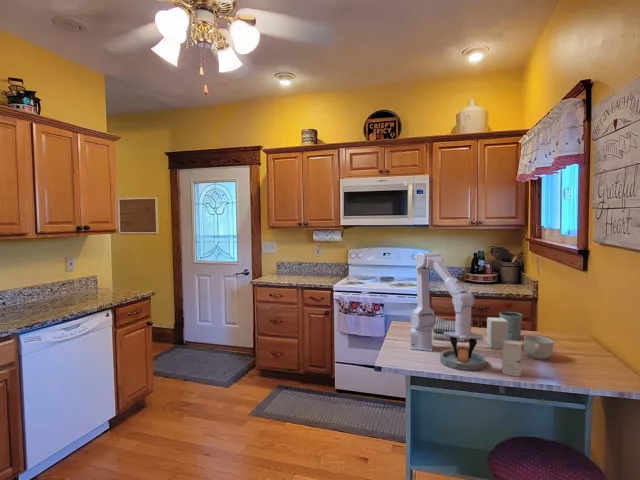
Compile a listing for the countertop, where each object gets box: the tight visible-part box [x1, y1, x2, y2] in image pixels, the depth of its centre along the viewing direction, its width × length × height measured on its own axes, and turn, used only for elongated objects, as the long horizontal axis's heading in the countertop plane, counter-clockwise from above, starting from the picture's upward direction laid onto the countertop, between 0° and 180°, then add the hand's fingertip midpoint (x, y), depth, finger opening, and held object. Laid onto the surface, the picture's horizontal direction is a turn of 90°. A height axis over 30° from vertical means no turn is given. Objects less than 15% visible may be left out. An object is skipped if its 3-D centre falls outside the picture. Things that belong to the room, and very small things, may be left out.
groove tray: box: [439, 348, 487, 372], centre depth 151 cm, size 17×17×2 cm
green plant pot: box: [499, 311, 523, 341], centre depth 183 cm, size 10×10×12 cm
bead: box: [457, 345, 469, 363], centre depth 146 cm, size 4×4×5 cm
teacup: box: [523, 334, 555, 360], centre depth 155 cm, size 14×11×8 cm
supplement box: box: [486, 317, 508, 350], centre depth 170 cm, size 7×7×13 cm
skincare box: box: [501, 340, 522, 377], centre depth 139 cm, size 6×4×12 cm
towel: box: [432, 316, 465, 342], centre depth 187 cm, size 15×18×8 cm
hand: (462, 357), depth 146 cm, fingers closed on bead, 4 cm apart
